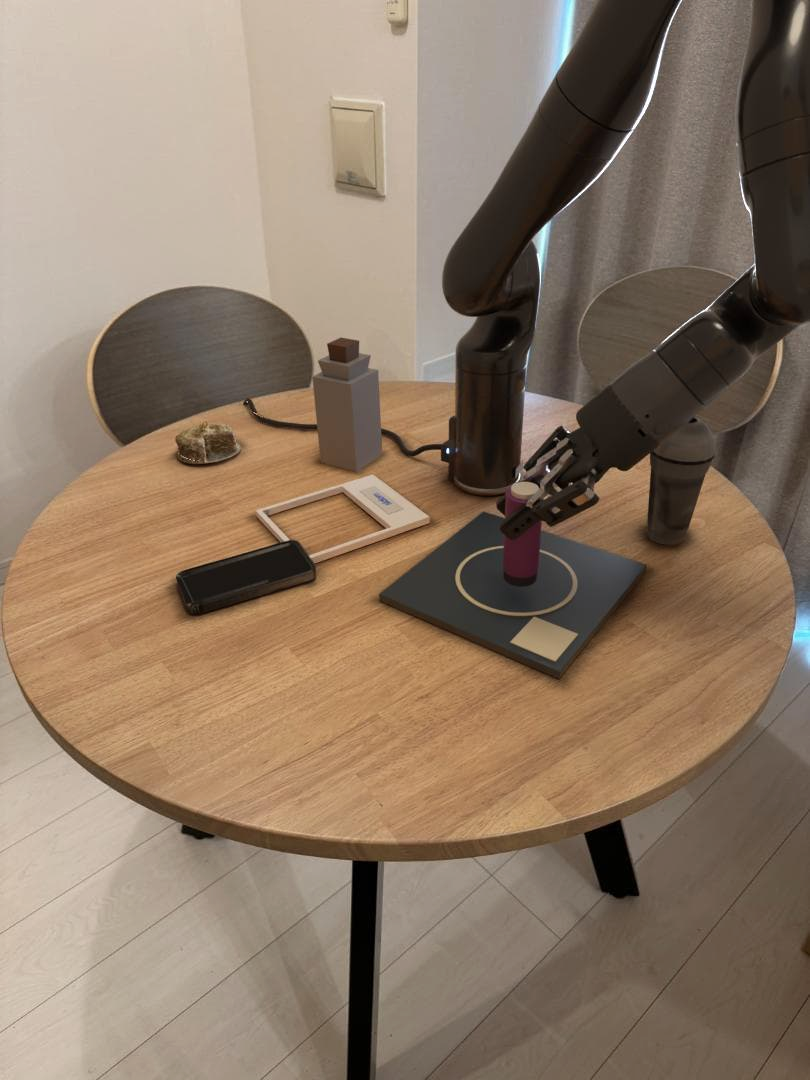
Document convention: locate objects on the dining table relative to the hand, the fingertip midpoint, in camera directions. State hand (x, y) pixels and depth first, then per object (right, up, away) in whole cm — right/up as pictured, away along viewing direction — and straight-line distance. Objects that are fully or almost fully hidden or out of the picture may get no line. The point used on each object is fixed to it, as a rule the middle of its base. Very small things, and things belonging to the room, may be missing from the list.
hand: (503, 521), depth 76 cm
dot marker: (+2, -6, +4) cm, 7 cm away
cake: (-41, +12, +40) cm, 58 cm away
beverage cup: (+22, -1, +16) cm, 27 cm away
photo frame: (-19, +1, +21) cm, 28 cm away
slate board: (+2, -7, +7) cm, 10 cm away
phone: (-29, -7, +9) cm, 31 cm away
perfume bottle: (-18, +10, +37) cm, 42 cm away
